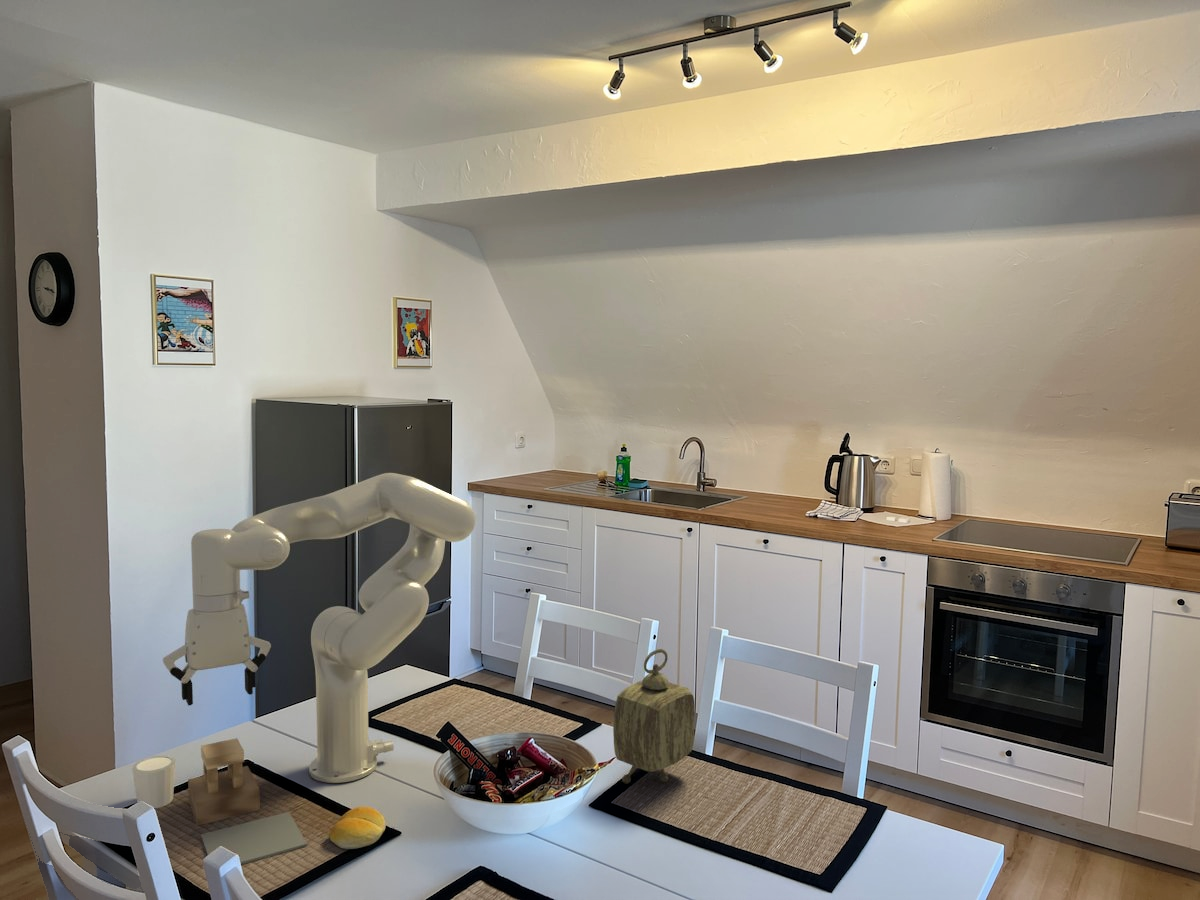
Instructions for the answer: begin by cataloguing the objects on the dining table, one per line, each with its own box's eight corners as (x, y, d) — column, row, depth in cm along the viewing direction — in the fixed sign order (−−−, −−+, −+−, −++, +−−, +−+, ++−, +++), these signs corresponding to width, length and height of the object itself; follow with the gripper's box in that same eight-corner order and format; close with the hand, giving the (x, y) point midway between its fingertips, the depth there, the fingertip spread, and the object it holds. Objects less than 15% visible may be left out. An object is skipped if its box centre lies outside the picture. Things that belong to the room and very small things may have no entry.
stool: (238, 772, 156) (237, 738, 156) (244, 786, 151) (243, 750, 151) (202, 781, 153) (200, 745, 153) (207, 795, 148) (206, 758, 148)
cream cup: (159, 813, 150) (157, 774, 149) (124, 808, 151) (123, 770, 151) (185, 794, 157) (184, 757, 156) (152, 790, 158) (150, 753, 157)
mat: (289, 813, 150) (288, 811, 150) (307, 846, 140) (306, 843, 140) (201, 836, 142) (201, 834, 142) (213, 872, 132) (213, 870, 132)
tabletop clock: (659, 758, 173) (661, 636, 170) (696, 773, 167) (699, 646, 164) (612, 784, 162) (614, 654, 160) (650, 800, 156) (653, 665, 154)
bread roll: (322, 849, 140) (321, 825, 139) (347, 820, 148) (347, 798, 148) (369, 854, 138) (369, 830, 138) (393, 825, 147) (392, 803, 147)
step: (248, 786, 160) (247, 765, 159) (259, 810, 151) (259, 788, 151) (188, 800, 154) (188, 779, 154) (197, 825, 146) (196, 803, 145)
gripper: (264, 590, 157) (266, 681, 159) (158, 603, 148) (161, 700, 149) (274, 599, 151) (276, 694, 152) (163, 613, 141) (167, 714, 143)
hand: (219, 697), depth 151 cm, fingers open, 9 cm apart
